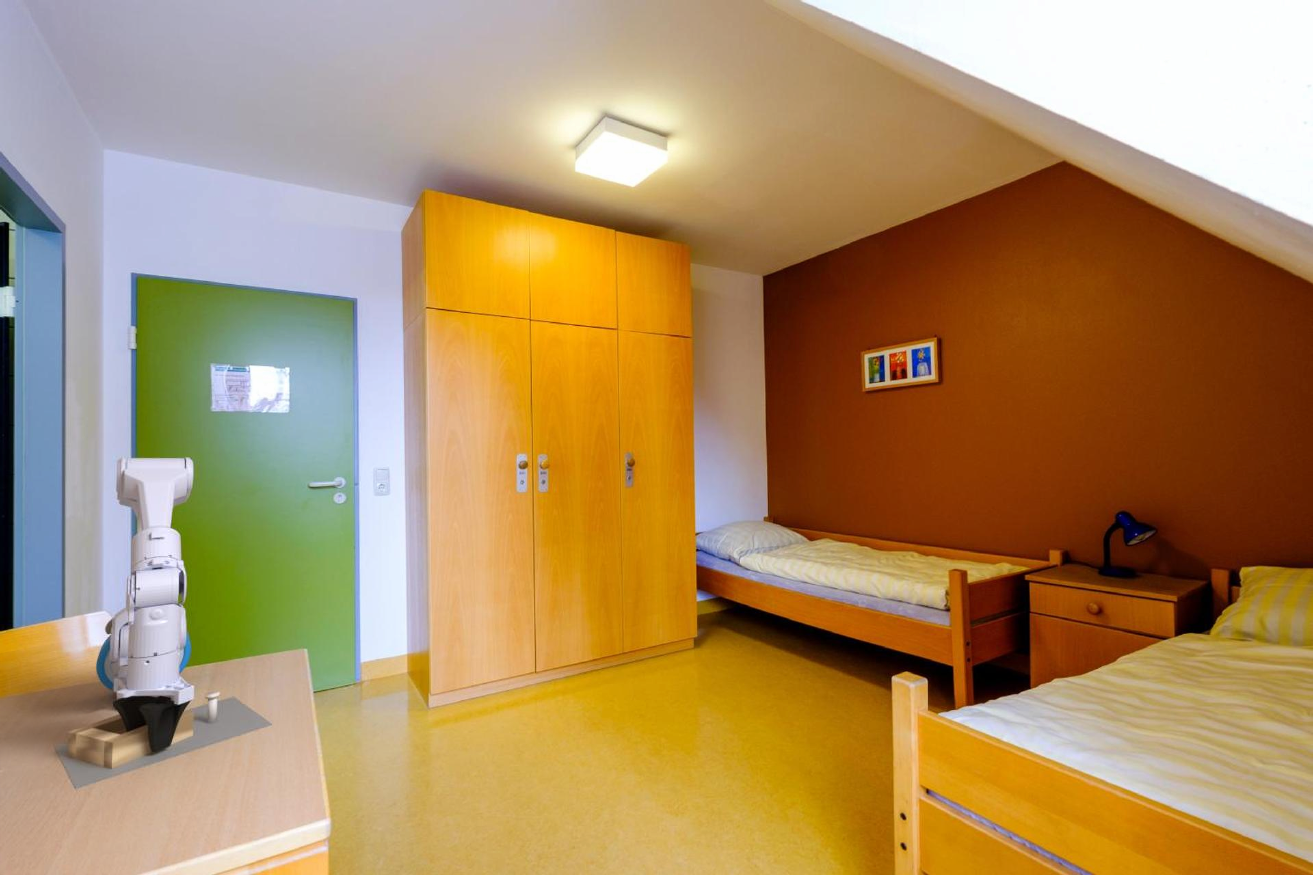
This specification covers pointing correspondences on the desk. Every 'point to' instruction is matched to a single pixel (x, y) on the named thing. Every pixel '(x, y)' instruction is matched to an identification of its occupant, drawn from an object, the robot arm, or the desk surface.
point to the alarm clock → (110, 669)
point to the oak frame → (118, 741)
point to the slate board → (208, 729)
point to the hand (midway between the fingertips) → (151, 746)
